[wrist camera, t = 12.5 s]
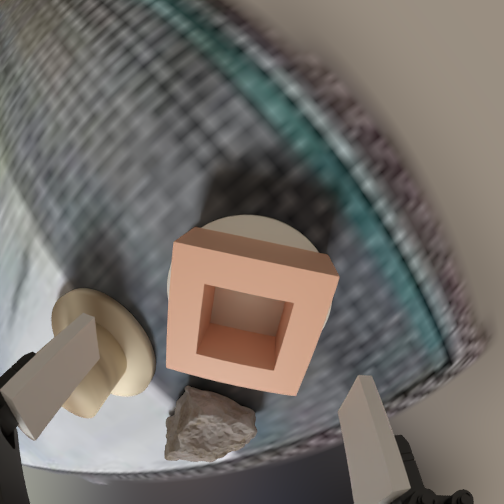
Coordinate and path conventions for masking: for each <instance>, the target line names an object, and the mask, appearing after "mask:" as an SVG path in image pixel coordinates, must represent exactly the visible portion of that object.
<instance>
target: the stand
mask: <svg viewBox="0 0 504 504" xmlns="http://www.w3.org/2000/svg"><path fill="white" fill-rule="evenodd" d="M82 313H85V314H88V315H90V316H93V317H95V325H96V334H97V341H98V349H99V355H100V359H99V360H98V361H97V363H96V364H95V365H94V366H93V367H92V369H91V370H90V371H89V372H88V374H87V375H86V376H85V377H84V378H83V380H82V381H81V382H80V383H79V385H78V386H77V387H76V388H75V390H74V391H73V392H72V393H71V395H70V396H69V397H68V399H67V400H66V401H65V402H64V404H63V405H62V407H63V408H65V409H66V410H68V411H69V412H71V413H73V414H75V415H77V416H80V417H83V418H92V417H94V416H95V415H96V414H97V412H98V411H99V409H100V408H101V406H102V405H103V403H104V402H105V400H106V399H107V398H108V396H109V395H110V394H113V395H117V396H134V395H138V394H140V393H141V392H143V391H144V390H145V389H146V388H147V387H148V385H149V383H150V381H151V380H152V378H153V376H154V373H155V370H156V358H155V353H154V350H153V347H152V344H151V342H150V340H149V338H148V336H147V334H146V332H145V331H144V329H143V328H142V326H141V325H140V324H139V322H138V321H137V320H136V319H135V317H134V316H133V315H132V314H131V313H130V312H129V311H128V310H127V309H126V308H125V307H124V306H122V305H121V304H120V303H119V302H117V301H116V300H114V299H113V298H111V297H110V296H108V295H106V294H104V293H102V292H100V291H97V290H93V289H89V288H78V289H74V290H72V291H70V292H68V293H66V294H65V295H64V296H62V297H61V298H60V299H58V301H57V302H56V303H55V305H54V307H53V311H52V329H53V333H54V338H55V337H56V336H57V335H58V334H59V333H60V332H61V331H63V330H64V329H65V328H66V327H67V326H68V325H69V324H71V323H72V322H73V321H74V320H75V319H76V318H78V317H79V316H80V315H81V314H82ZM54 338H53V339H54ZM47 344H48V343H47ZM47 344H46V345H47ZM46 345H45V346H46ZM45 346H44V347H45ZM44 347H43V348H44ZM43 348H42V349H43ZM39 351H40V350H39ZM39 351H38V352H39ZM38 352H37V353H38ZM37 353H36V354H37ZM18 427H19V428H20V429H21V427H20V426H19V425H18ZM21 430H22V429H21ZM22 432H23V430H22ZM23 433H24V432H23ZM24 434H25V435H27V434H26V433H24ZM27 436H28V435H27ZM28 437H29V438H30V439H32V440H34V439H33V438H31V437H30V436H28ZM34 441H35V440H34Z"/></svg>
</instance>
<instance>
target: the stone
mask: <svg viewBox="0 0 504 504" xmlns="http://www.w3.org/2000/svg"><path fill="white" fill-rule="evenodd" d="M174 410H175V414H174V415H173V416H171V417H168V418H167V419H166V427H167V434H166V438H167V444H166V445H165V459H166V460H171V461H172V460H174V461H177V460H179V459H181V460H187V461H194V462H198V461H206V462H213V461H215V460H216V459H218V458H222V457H224V456H225V455H226V454H227V453H229V452H231V451H236V450H240V449H241V448H243V447H244V446H245V444H248V443H249V442H250V440H251V439H252V438H254V437H255V435H256V434H257V429H256V427H255V420H256V417H255V412H254V411H253V410H252V409H250V408H247V407H244V406H240V405H239V404H238V403H236V402H235V401H233V400H231V399H229V398H228V397H225V396H222V395H220V394H218V393H214V392H211V391H202V390H199V389H197V388H194V387H190V386H186V387H185V392H184V394H183V395H182V396H181V397H180V398H179V400H177V402H176V408H175V409H174Z"/></svg>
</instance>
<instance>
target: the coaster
mask: <svg viewBox="0 0 504 504" xmlns="http://www.w3.org/2000/svg"><path fill="white" fill-rule="evenodd" d="M201 228H203V229H208V230H213V231H218V232H223V233H228V234H233V235H238V236H243V237H247V238H252V239H257V240H262V241H267V242H271V243H276V244H281V245H285V246H290V247H295V248H299V249H304V250H309V251H313V252H318V250H317V249H316V247H315V246H314V245H313V244H312V243H311V242H310V241H309V240H308V239H307V237H305V236H304V235H303V234H302V233H300V232H299V231H298V230H296V229H295V228H293V227H291V226H290V225H288V224H286V223H284V222H281V221H279V220H277V219H273V218H270V217H266V216H260V215H252V214H241V215H233V216H228V217H224V218H220V219H217V220H215V221H213V222H210V223H208V224H206V225H205V226H203V227H201ZM318 253H319V252H318ZM171 265H172V263H171ZM170 277H171V266H170V270H169V274H168V280H167V293H168V301H169V290H170ZM284 304H285V301H281V300H276V299H271V298H266V297H262V296H257V295H252V294H247V293H243V292H238V291H234V290H229V289H225V288H220V287H216V286H215V293H214V300H213V306H212V313H211V320H210V323H214V324H218V325H222V326H227V327H231V328H236V329H240V330H245V331H249V332H254V333H259V334H264V335H269V336H274V337H276V333H277V330H278V326H279V323H280V319H281V315H282V312H283V308H284ZM331 304H332V302H331ZM330 310H331V305H330V308H329V311H328V314H327V317H326V320H325V322H324V325H323V328H324V326H325V324H326V321H327V319H328V317H329V313H330ZM323 328H322V329H323Z"/></svg>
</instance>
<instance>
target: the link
mask: <svg viewBox="0 0 504 504" xmlns="http://www.w3.org/2000/svg"><path fill="white" fill-rule="evenodd" d="M338 280H339V275H338V273H337V271H336V269H335V267H334V265H333V263H332V261H331V260H330V258H329V256H328V255H327V254H323V253H318V252H313V251H309V250H304V249H299V248H295V247H290V246H285V245H281V244H276V243H271V242H267V241H262V240H257V239H252V238H247V237H243V236H238V235H233V234H228V233H223V232H218V231H213V230H208V229H203V228H198V227H194V228H193V229H191V230H190V231H188V232H187V233H186V234H184V235H183V236H181V237H180V238H178V239H177V240H176V241H174V244H173V254H172V265H171V277H170V290H169V305H168V324H167V353H166V368H169V369H173V370H176V371H180V372H183V373H187V374H190V375H194V376H198V377H201V378H205V379H209V380H213V381H218V382H222V383H226V384H231V385H235V386H240V387H245V388H250V389H255V390H261V391H266V392H272V393H278V394H285V395H292V396H296V394H297V392H298V389H299V387H300V385H301V382H302V380H303V377H304V375H305V373H306V370H307V368H308V365H309V363H310V360H311V358H312V355H313V352H314V350H315V347H316V344H317V342H318V339H319V336H320V334H321V331H322V328H323V325H324V322H325V320H326V317H327V314H328V311H329V308H330V305H331V302H332V299H333V296H334V293H335V290H336V287H337V283H338ZM215 286H216V287H220V288H225V289H229V290H234V291H238V292H243V293H247V294H252V295H257V296H262V297H266V298H271V299H276V300H281V301H285V304H284V308H283V312H282V315H281V319H280V323H279V326H278V330H277V333H276V337H274V336H269V335H264V334H259V333H254V332H249V331H245V330H240V329H236V328H231V327H227V326H222V325H218V324H214V323H210V320H211V313H212V306H213V300H214V293H215Z"/></svg>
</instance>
